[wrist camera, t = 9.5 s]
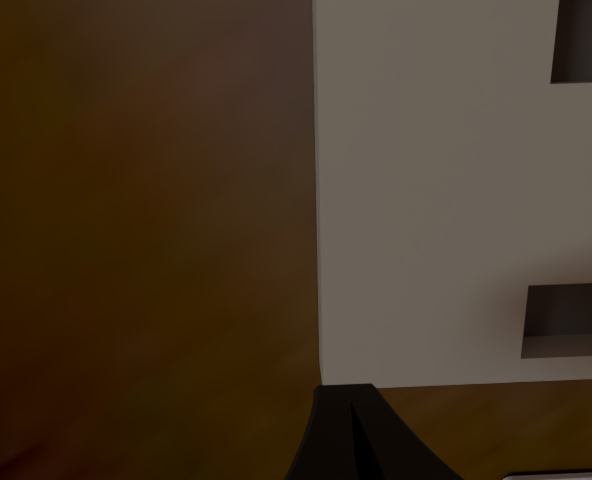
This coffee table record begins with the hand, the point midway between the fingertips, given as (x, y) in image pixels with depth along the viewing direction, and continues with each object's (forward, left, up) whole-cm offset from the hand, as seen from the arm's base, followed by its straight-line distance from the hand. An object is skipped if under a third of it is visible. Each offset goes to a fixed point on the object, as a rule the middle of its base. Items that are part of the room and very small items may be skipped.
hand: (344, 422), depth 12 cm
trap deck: (+4, -10, -9) cm, 15 cm away
